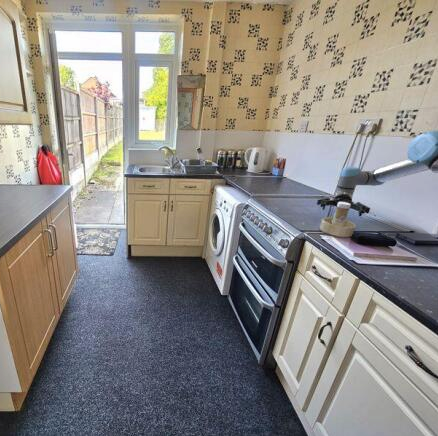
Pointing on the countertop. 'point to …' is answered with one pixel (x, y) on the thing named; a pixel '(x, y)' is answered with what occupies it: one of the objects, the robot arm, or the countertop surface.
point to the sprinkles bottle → (341, 213)
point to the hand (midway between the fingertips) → (341, 210)
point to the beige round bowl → (337, 228)
